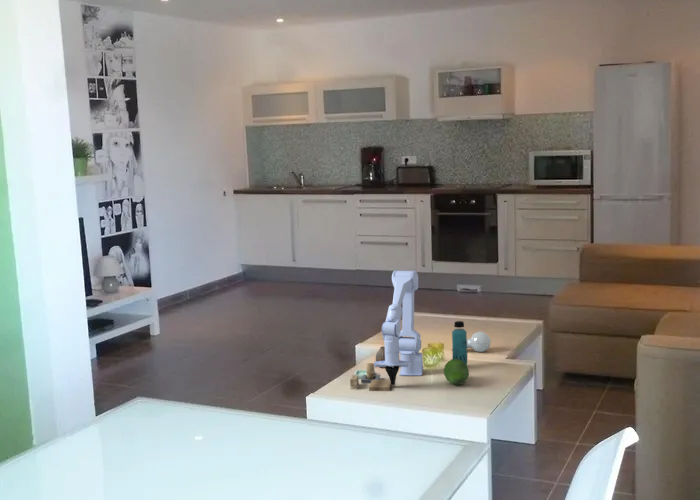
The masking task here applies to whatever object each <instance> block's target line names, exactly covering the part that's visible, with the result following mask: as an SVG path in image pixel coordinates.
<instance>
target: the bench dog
mask: <svg viewBox="0 0 700 500" xmlns="http://www.w3.org/2000/svg"><path fill="white" fill-rule="evenodd" d="M349 383H350V390H357V389H358V387H359V384H360V381H359V379H358V375H354V374H353V375H351V377H350V380H349Z"/></svg>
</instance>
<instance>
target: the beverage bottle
mask: <svg viewBox="0 0 700 500" xmlns="http://www.w3.org/2000/svg"><path fill="white" fill-rule="evenodd" d="M453 326H454V328H455V329H453V330H452V332H451V340H452V350H451V351H452V352H451V353H452V356H451V357H452V359H460V360H462V361H464V362H465V364H466V365H467V364H468V348H467V339H468V337H467V331H466V330H465V328H464V327H465V323H464V321H463V320H457V321H454V325H453ZM467 366H468V365H467Z"/></svg>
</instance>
